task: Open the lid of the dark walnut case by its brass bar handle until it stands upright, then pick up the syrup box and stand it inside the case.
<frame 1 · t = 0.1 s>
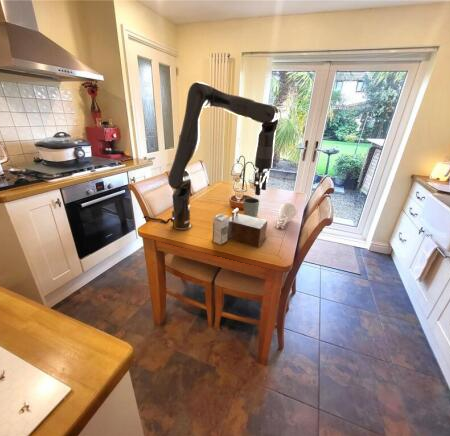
hand: (260, 192, 107), 29 cm above the table, tool pointing down, fingers open, 8 cm apart
case: (246, 238, 127), on the table
case lid: (247, 217, 122), point 12 cm above the table, hinge at 0.0°
syrup box: (220, 241, 123), on the table
grey cup: (249, 217, 152), on the table
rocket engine: (281, 223, 146), on the table
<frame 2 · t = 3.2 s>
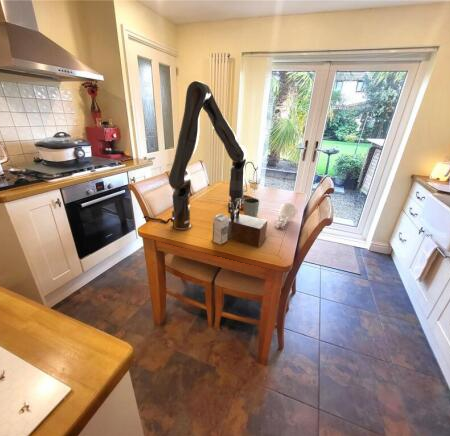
hand: (234, 217, 125), 11 cm above the table, tool pointing down, fingers closed on case lid, 6 cm apart
case lid: (247, 217, 122), point 12 cm above the table, hinge at 0.0°, touching gripper
everything else where it was.
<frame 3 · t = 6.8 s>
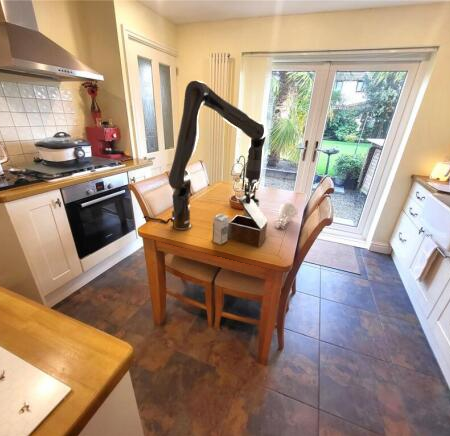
hand: (250, 201, 118), 22 cm above the table, tool pointing down, fingers closed on case lid, 6 cm apart
case lid: (256, 208, 118), point 18 cm above the table, hinge at 46.1°, touching gripper
everything else where it was.
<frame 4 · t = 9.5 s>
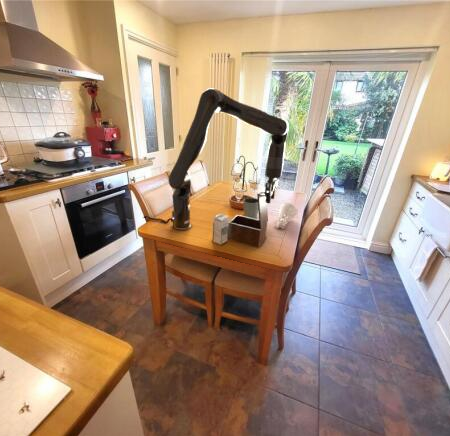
hand: (269, 200, 113), 24 cm above the table, tool pointing down, fingers closed on case lid, 6 cm apart
case lid: (267, 208, 115), point 20 cm above the table, hinge at 80.3°, touching gripper
everything else where it was.
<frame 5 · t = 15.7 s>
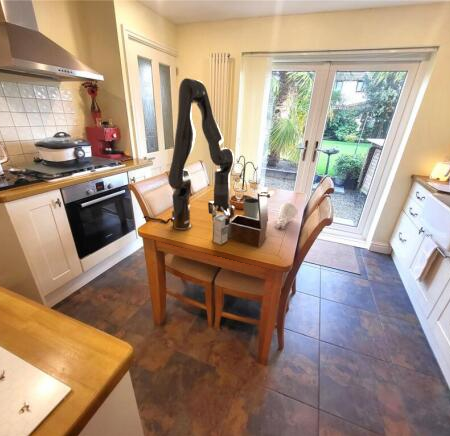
hand: (220, 223, 118), 11 cm above the table, tool pointing down, fingers closed on syrup box, 6 cm apart
case lid: (267, 208, 115), point 20 cm above the table, hinge at 80.8°
syrup box: (220, 241, 123), on the table, touching gripper
everything else where it was.
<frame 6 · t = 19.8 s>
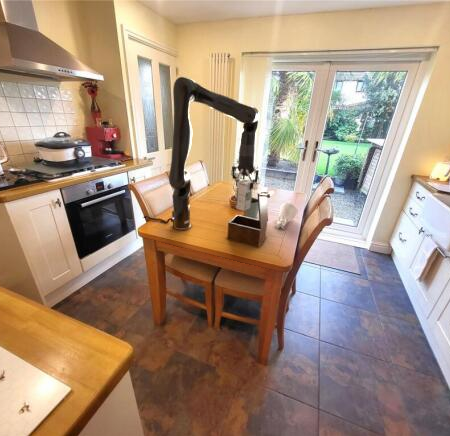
hand: (244, 188, 115), 28 cm above the table, tool pointing down, fingers closed on syrup box, 6 cm apart
syrup box: (243, 208, 120), point 17 cm above the table, touching gripper
everything else where it was.
when the fingers open (12 cm above the table, at t = 24.0 s): syrup box stays where it is, resting on case.
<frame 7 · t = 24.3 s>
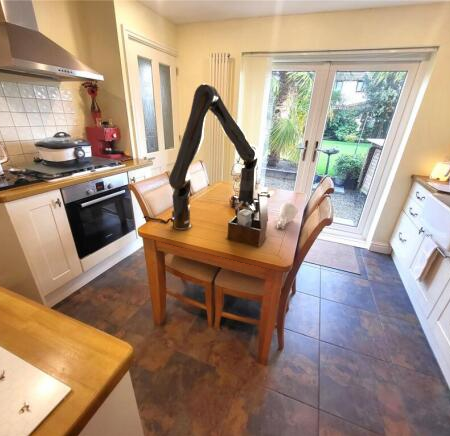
hand: (244, 217, 123), 12 cm above the table, tool pointing down, fingers open, 8 cm apart
syrup box: (243, 236, 128), point 1 cm above the table, touching case
everything else where it was.
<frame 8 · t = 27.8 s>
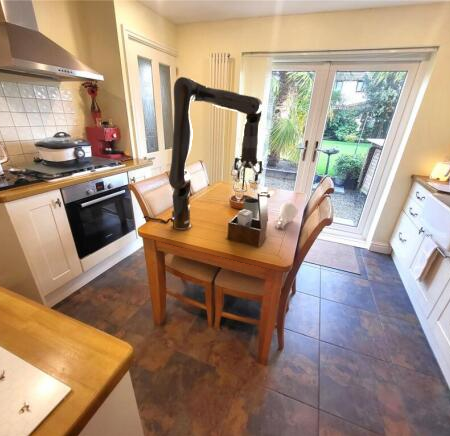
hand: (247, 180, 114), 32 cm above the table, tool pointing down, fingers open, 8 cm apart
nothing on the table moved.
at the end: case lid at +81° (first picture: +0°); syrup box inside the target area in the case (2.1 cm from its centre), point 0.6 cm above the case's base; syrup box tilted 0° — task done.
